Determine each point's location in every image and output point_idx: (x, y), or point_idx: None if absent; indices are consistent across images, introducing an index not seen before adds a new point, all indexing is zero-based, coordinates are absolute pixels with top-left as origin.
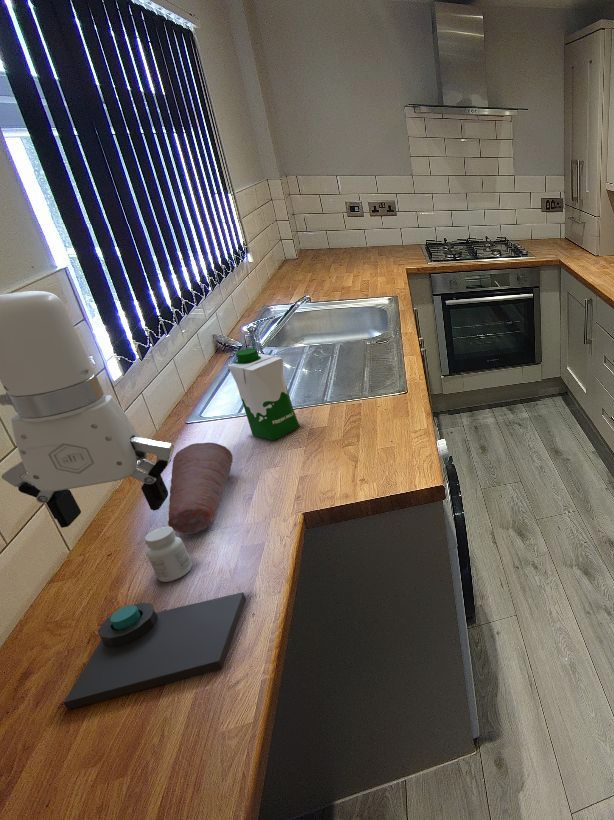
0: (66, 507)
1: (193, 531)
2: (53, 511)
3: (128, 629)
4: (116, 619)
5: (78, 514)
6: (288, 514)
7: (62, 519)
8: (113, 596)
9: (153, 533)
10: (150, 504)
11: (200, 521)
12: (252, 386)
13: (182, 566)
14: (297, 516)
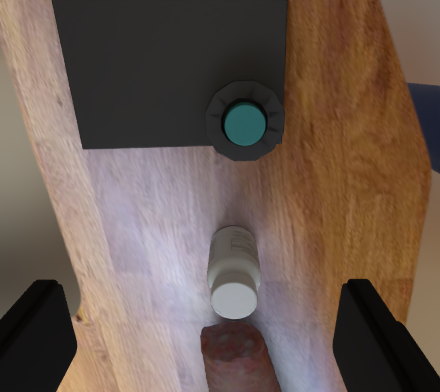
0: (365, 366)
1: (229, 321)
2: (407, 346)
3: (230, 94)
4: (250, 111)
5: (334, 337)
6: (104, 323)
7: (365, 305)
8: (311, 220)
9: (245, 305)
10: (30, 299)
11: (214, 335)
12: None
13: (213, 243)
14: (87, 315)
